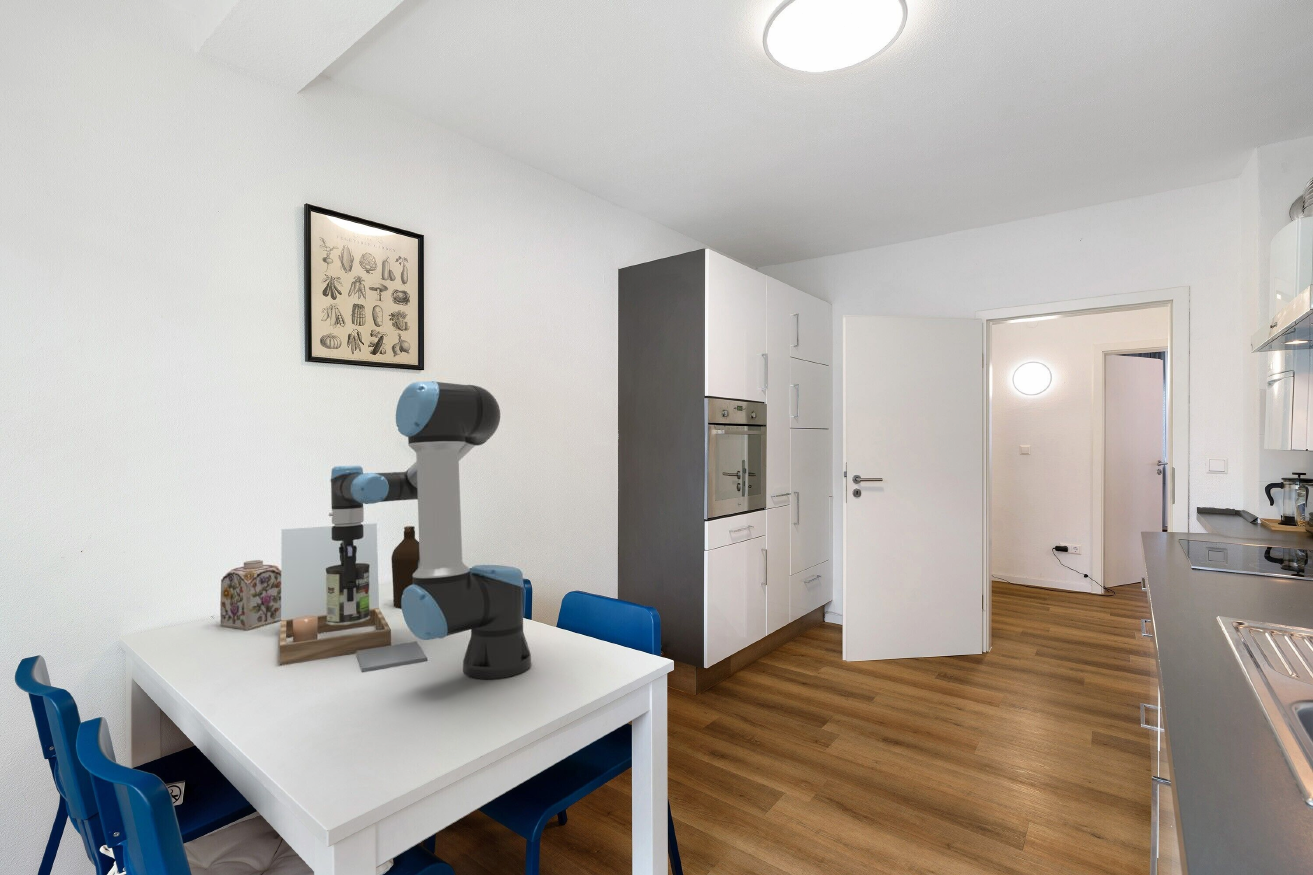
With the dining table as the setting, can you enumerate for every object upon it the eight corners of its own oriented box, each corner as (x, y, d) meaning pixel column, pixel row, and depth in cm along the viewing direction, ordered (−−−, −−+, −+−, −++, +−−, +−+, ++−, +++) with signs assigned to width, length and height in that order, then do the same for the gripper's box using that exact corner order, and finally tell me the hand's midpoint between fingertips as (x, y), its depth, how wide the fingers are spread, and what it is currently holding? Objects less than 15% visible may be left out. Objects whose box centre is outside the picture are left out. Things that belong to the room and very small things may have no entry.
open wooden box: (391, 647, 155) (391, 629, 155) (279, 665, 143) (279, 645, 143) (379, 623, 176) (379, 607, 176) (281, 637, 164) (281, 620, 164)
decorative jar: (246, 631, 169) (247, 566, 170) (218, 626, 174) (218, 563, 174) (286, 619, 181) (287, 558, 181) (259, 615, 185) (259, 556, 185)
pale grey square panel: (376, 523, 182) (375, 524, 183) (281, 529, 169) (281, 530, 171) (379, 607, 176) (378, 608, 177) (281, 620, 164) (281, 620, 165)
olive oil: (386, 609, 191) (386, 529, 192) (398, 600, 202) (398, 524, 202) (420, 608, 192) (420, 528, 192) (431, 600, 203) (431, 524, 203)
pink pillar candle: (317, 642, 159) (318, 619, 159) (292, 646, 157) (292, 622, 157) (317, 636, 164) (317, 614, 164) (292, 640, 161) (292, 617, 161)
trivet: (427, 660, 145) (427, 657, 145) (361, 672, 138) (361, 668, 138) (416, 644, 157) (416, 641, 157) (356, 654, 150) (356, 650, 150)
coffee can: (377, 614, 166) (376, 562, 166) (357, 625, 155) (357, 569, 156) (339, 615, 166) (339, 563, 166) (317, 626, 156) (317, 570, 156)
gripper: (329, 521, 169) (329, 602, 168) (334, 529, 150) (334, 621, 149) (359, 519, 173) (359, 599, 172) (367, 527, 154) (368, 616, 153)
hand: (348, 609), depth 161 cm, fingers closed on coffee can, 10 cm apart
